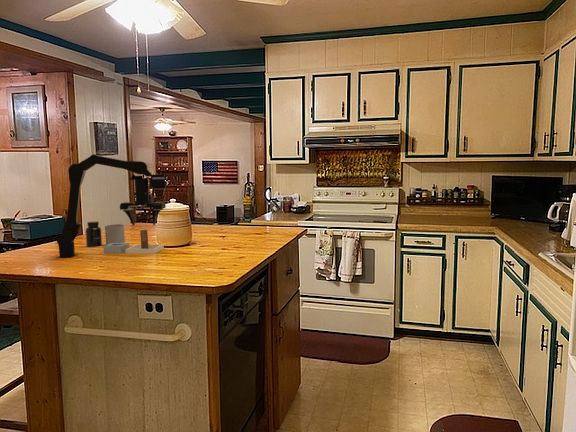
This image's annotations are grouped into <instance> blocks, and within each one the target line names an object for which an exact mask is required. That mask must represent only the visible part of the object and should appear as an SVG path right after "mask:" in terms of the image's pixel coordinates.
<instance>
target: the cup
mask: <svg viewBox="0 0 576 432" xmlns="http://www.w3.org/2000/svg"><path fill="white" fill-rule="evenodd" d="M104 230H105V231H104V232H105V245H108V244H110V243H126V240H125V239H126V238H125V237H126V236H125V225H124V224H121V223H120V224H107V225H105V226H104Z"/></svg>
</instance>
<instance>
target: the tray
mask: <svg viewBox="0 0 576 432" xmlns="http://www.w3.org/2000/svg"><path fill="white" fill-rule="evenodd" d="M164 247H165V245H164V244H162V243H161V244H159V243H156V244H155V243H153V244H151V243H148V249H141V243H139V244H138V243H137V244H134V245H133V244H132V246H131V245H130V246H129V248H127V249H125V254H156V253H158V252H161V250H163V249H164Z"/></svg>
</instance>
